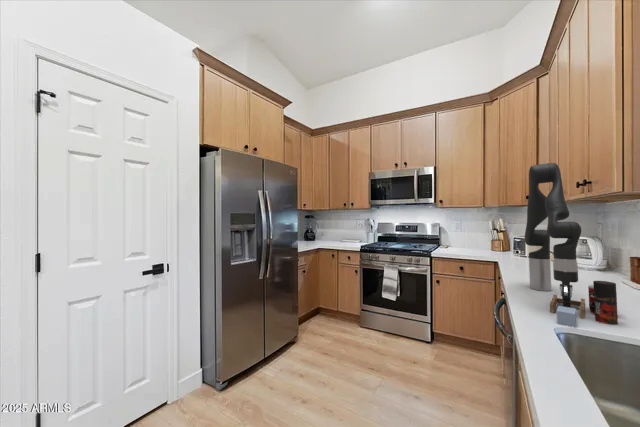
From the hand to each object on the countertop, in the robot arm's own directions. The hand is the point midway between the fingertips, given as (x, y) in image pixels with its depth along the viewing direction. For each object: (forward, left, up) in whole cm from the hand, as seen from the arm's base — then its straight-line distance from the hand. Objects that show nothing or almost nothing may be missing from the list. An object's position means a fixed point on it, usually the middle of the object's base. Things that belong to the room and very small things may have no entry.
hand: (567, 310), depth 109 cm
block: (+12, 0, -2) cm, 12 cm away
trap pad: (-13, 0, -1) cm, 13 cm away
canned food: (-10, +11, -2) cm, 14 cm away
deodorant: (+1, +11, -2) cm, 11 cm away
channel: (-7, 0, -1) cm, 7 cm away
